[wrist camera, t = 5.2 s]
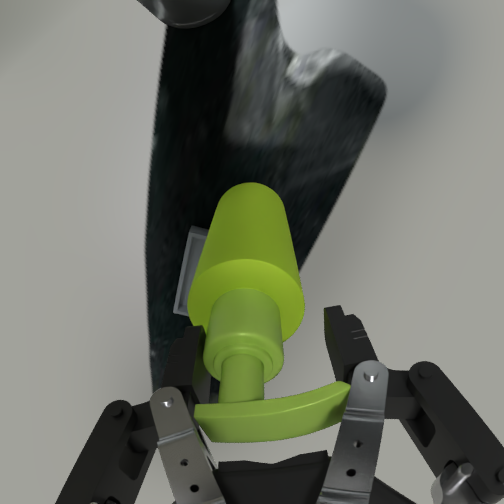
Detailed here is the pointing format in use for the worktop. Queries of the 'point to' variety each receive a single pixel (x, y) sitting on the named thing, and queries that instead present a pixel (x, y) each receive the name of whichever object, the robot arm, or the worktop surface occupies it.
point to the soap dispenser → (253, 323)
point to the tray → (189, 267)
